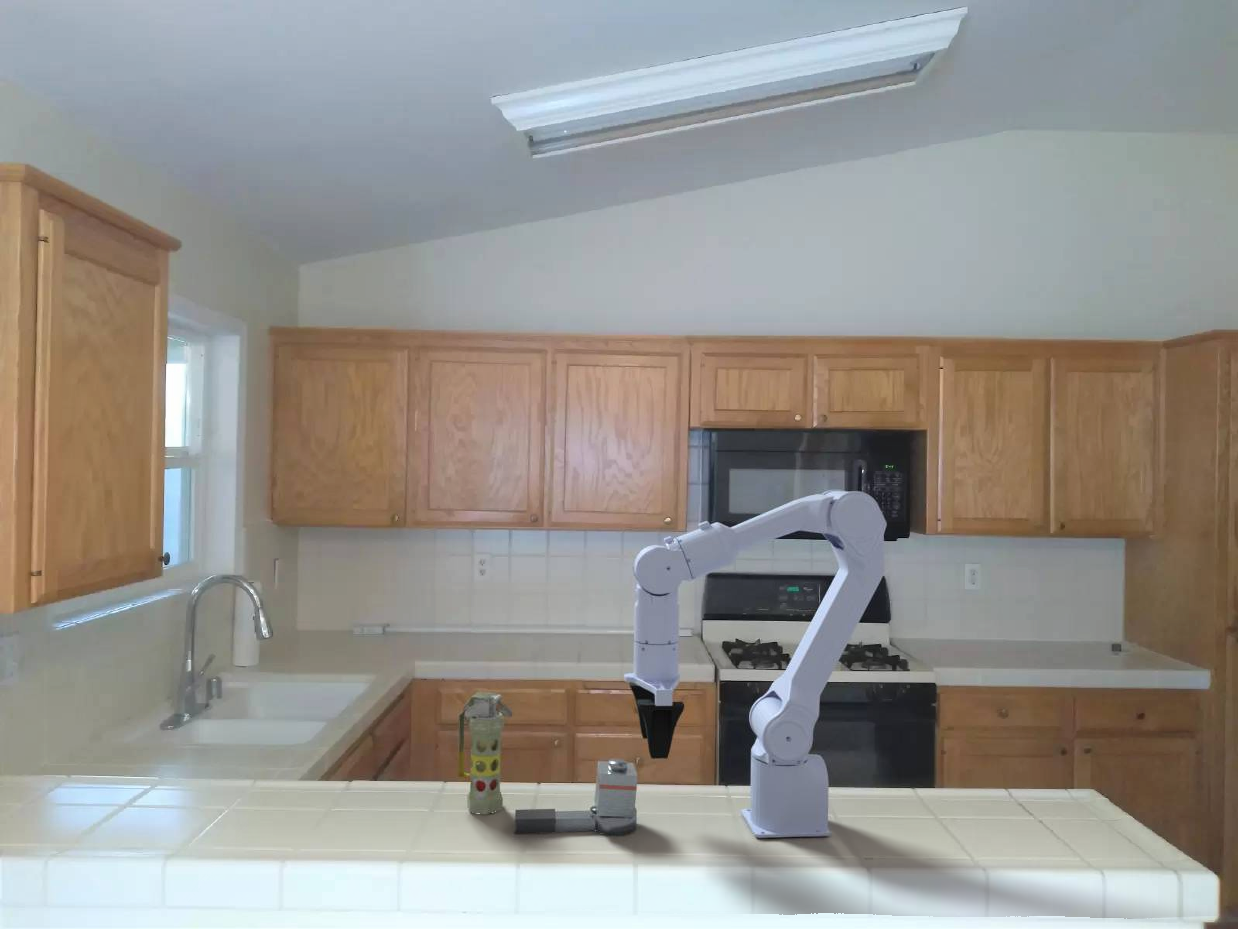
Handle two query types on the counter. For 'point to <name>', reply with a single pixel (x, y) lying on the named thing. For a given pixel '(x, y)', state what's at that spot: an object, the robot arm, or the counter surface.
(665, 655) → the robot arm
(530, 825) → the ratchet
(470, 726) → the grenade
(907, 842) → the counter surface
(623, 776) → the striped cube with knob
